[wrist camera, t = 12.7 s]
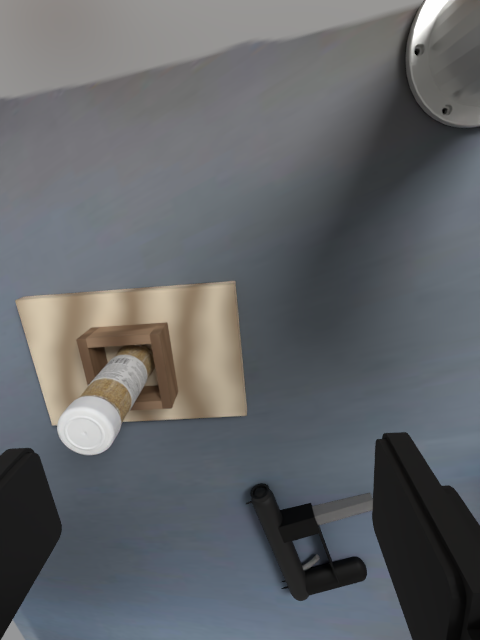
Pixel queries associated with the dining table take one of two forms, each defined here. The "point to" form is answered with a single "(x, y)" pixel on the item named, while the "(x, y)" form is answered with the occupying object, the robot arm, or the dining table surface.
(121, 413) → the sprinkles bottle
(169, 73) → the dining table surface
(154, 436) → the dining table surface
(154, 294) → the spice stand
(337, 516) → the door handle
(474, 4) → the robot arm
